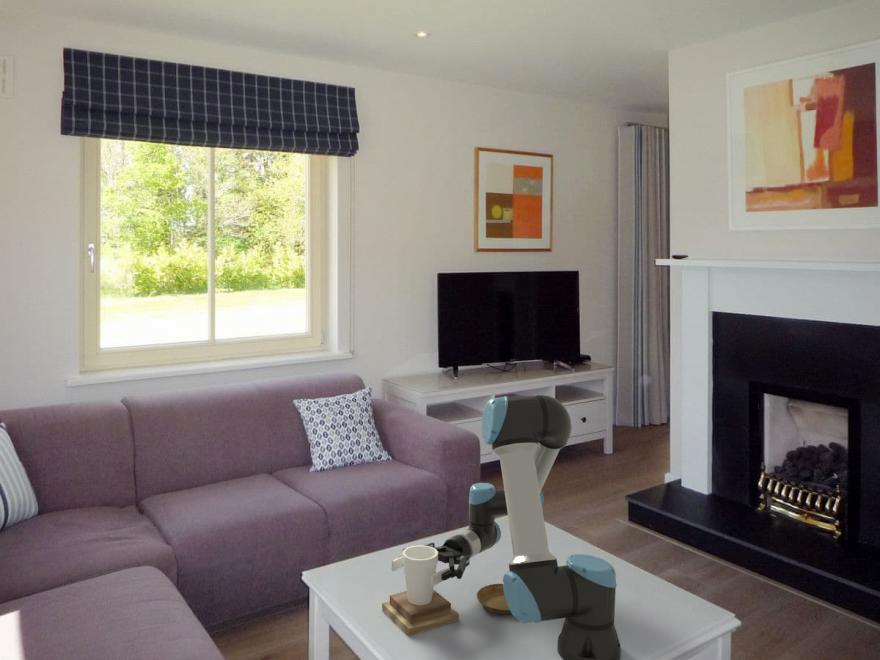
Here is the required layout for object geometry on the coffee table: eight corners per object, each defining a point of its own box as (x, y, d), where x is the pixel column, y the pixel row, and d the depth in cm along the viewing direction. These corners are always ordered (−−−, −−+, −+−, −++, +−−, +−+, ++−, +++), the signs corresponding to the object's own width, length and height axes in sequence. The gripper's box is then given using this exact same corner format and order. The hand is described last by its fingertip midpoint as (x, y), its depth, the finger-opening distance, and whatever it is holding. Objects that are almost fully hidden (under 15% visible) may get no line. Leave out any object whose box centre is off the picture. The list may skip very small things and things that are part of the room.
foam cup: (397, 604, 190) (397, 557, 189) (409, 588, 199) (409, 543, 198) (431, 610, 188) (432, 562, 186) (442, 594, 196) (442, 548, 195)
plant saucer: (532, 618, 193) (533, 609, 193) (477, 618, 193) (477, 608, 193) (527, 592, 208) (527, 583, 207) (475, 591, 208) (475, 583, 208)
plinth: (458, 620, 191) (458, 604, 191) (408, 636, 184) (408, 619, 183) (430, 596, 204) (430, 581, 204) (382, 610, 196) (382, 594, 196)
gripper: (497, 572, 199) (449, 601, 182) (427, 548, 214) (377, 573, 198) (497, 546, 198) (449, 573, 182) (427, 524, 214) (377, 546, 197)
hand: (411, 573), depth 190 cm, fingers open, 13 cm apart
